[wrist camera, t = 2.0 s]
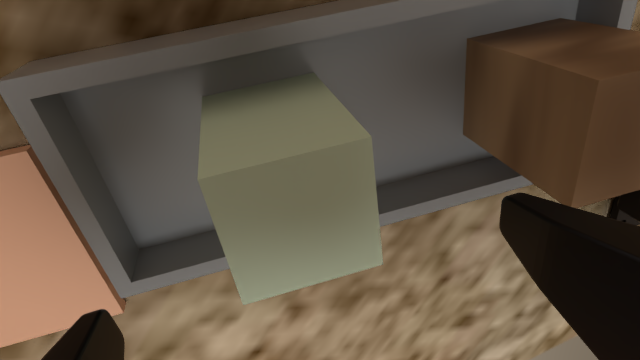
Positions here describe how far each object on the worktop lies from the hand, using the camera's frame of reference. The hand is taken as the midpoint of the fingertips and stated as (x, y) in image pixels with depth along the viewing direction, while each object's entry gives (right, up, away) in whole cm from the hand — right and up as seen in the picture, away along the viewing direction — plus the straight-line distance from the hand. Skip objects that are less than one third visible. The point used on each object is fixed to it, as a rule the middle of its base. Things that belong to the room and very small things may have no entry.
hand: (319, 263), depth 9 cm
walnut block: (+8, +6, +8) cm, 12 cm away
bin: (+1, +5, +7) cm, 9 cm away
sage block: (-2, +4, +6) cm, 7 cm away
